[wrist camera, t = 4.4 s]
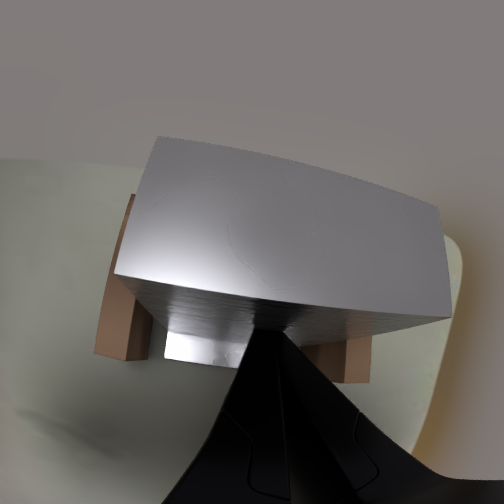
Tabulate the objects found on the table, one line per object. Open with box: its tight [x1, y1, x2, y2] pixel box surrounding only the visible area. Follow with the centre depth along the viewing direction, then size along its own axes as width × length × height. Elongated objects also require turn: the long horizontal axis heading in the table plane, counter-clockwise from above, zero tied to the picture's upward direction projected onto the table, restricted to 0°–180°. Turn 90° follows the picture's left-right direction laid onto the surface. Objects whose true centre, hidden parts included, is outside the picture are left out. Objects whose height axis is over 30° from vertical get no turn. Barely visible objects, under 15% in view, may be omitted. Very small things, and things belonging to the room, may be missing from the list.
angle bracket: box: [114, 136, 452, 368], centre depth 10 cm, size 5×6×11 cm
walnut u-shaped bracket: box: [94, 194, 372, 383], centre depth 13 cm, size 6×10×5 cm, turn 84°
